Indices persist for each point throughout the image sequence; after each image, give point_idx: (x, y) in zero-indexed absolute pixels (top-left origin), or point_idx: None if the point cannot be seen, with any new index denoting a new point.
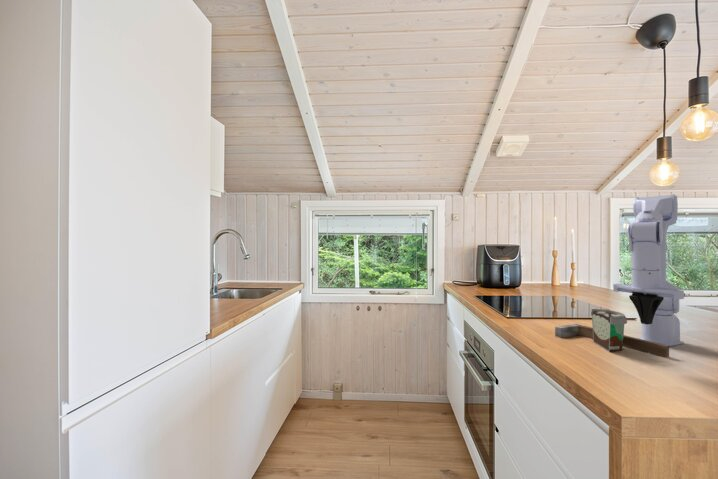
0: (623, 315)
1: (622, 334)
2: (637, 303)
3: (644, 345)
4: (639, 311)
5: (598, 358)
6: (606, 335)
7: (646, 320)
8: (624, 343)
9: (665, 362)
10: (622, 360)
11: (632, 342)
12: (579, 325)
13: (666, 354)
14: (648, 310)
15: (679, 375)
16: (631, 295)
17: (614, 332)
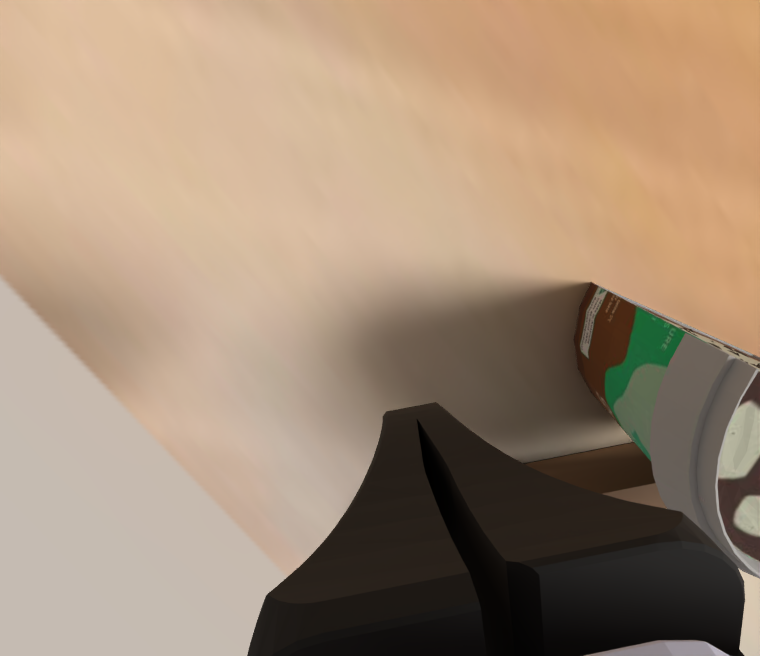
0: (751, 563)
1: (625, 419)
2: (517, 507)
3: None
4: (469, 453)
5: (529, 96)
6: (682, 329)
7: (386, 426)
8: (630, 456)
9: (365, 419)
10: (454, 219)
11: (596, 475)
12: None
13: None
14: (356, 496)
15: (184, 300)
16: (722, 617)
17: (644, 350)
